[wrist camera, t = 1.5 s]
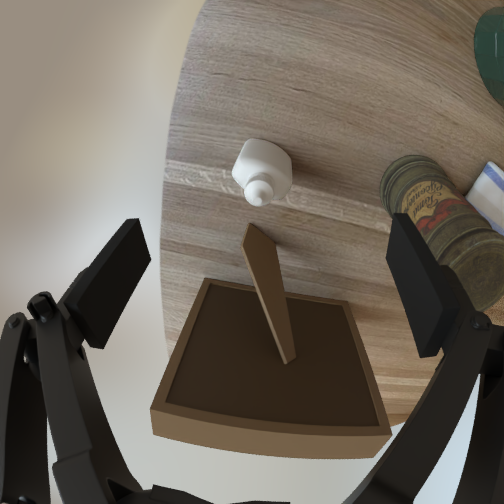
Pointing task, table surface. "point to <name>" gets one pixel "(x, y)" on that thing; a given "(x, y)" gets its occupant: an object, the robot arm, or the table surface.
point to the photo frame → (270, 371)
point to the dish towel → (489, 196)
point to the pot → (491, 51)
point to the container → (447, 226)
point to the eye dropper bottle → (263, 172)
